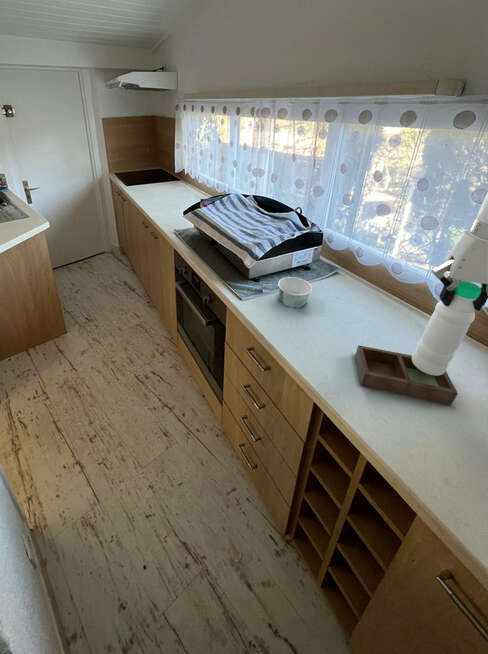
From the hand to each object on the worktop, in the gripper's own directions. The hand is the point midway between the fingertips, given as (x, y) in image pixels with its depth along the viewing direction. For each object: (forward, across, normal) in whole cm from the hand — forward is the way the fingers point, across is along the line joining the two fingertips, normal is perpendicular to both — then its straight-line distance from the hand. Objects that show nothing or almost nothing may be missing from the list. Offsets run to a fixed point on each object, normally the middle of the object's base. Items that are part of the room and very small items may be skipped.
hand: (459, 304), depth 69 cm
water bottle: (+20, 0, 0) cm, 20 cm away
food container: (+27, +33, -29) cm, 51 cm away
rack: (+26, +5, 0) cm, 27 cm away
